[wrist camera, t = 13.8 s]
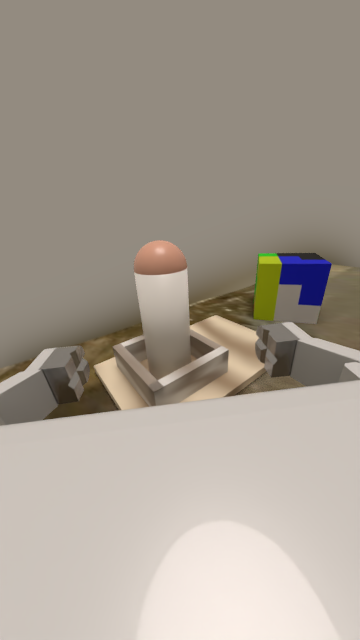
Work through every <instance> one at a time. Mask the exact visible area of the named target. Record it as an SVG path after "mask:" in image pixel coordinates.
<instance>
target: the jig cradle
mask: <svg viewBox="0 0 360 640" xmlns="http://www.w3.org/2000/svg"><path fill="white" fill-rule="evenodd" d="M258 339H259V337H258V336H257V335H256V331H253V330H251V329H249V328H246V327H244V326H241V325H239V324H236V323H234V322H231V321H229V320H227V319H224V318H222V317H219V316H217V315H215V316H213V317H210V318H208V319H205V320H203V321H201V322H198V323H196V324H193V325H191V326H190V347H191V363H189V364H187V365H186V366H184V367H182V368H180V369H178V370H176V371H174V372H173V373H171V374H169V375H167V376H165V377H163V378H161V379H160V380H157V379H156V378H155V377H154V376H153V375H152V374H151V373H150V372H149V366H148V359H147V353H146V346H145V340H144V335H141V336H139V337H136V338H134V339H131V340H128V341H126V342H123V343H121V344H118V345H115V346H113V351H114V355H115V357H114V358H112V359H109V360H107V361H104V362H102V363H99V364H97V365H95V366H94V369H95V372H96V374H97V376H98V377H99V379H100V380H101V382H102V384H103V385H104V387H105V388H106V390H107V392H108V393H109V395H110V396H111V398H112V400H113V401H114V403H115V404H116V406H117V408H118V409H119V410H127V409H135V408H143V407H151V406H159V405H167V404H174V403H182V402H190V401H198V400H206V399H214V398H222V397H229V396H234V395H236V394H237V393H238V392H240V391H241V390H242V389H244V388H245V387H246V386H248V385H249V384H250V383H252V382H253V381H254V380H256V379H257V378H258V377H260V376H261V375H262V374H264V373H265V372H266V369H265V368H264V365H265V364H264V363H262V362H260V361H259V359H258V358H257V356H256V352H255V342H256V341H257V340H258Z"/></svg>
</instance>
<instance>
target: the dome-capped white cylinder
mask: <svg viewBox="0 0 360 640" xmlns="http://www.w3.org/2000/svg"><path fill="white" fill-rule="evenodd" d="M134 274H135V280H136V287H137V293H138V300H139V306H140V313H141V320H142V326H143V333H144V340H145V346H146V353H147V359H148V366H149V372H150V373H151V374H152V375H153V376H154V377H155V378H156V379H157V380H160V379H161V378H163V377H165V376H167V375H169V374H171V373H173V372H174V371H176V370H178V369H180V368H182V367H184V366H186V365H187V364H189V363H191V347H190V324H189V300H188V278H187V263H186V259H185V257H184V255H183V253H182V252H181V250H180V249H179V248H178V247H177V246H175V245H174V244H172V243H170V242H167V241H162V240H158V241H153V242H150V243H148V244H146V245H144V246H143V247H142V248H141V249H140V250H139V252H138V253H137V255H136V258H135V261H134Z"/></svg>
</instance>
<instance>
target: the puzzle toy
mask: <svg viewBox="0 0 360 640" xmlns="http://www.w3.org/2000/svg"><path fill="white" fill-rule="evenodd" d="M330 268H331V263H330V262H328V261H326V260H325V259H323V258H322V257H320V256H319V255H317V254H316V253H277V254H258V264H257V274H256V284H255V293H254V319H259V320H272V321H285V322H298V323H311V324H317V320H318V316H319V312H320V308H321V304H322V300H323V296H324V292H325V288H326V284H327V280H328V276H329V272H330Z"/></svg>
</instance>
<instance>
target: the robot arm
mask: <svg viewBox="0 0 360 640" xmlns="http://www.w3.org/2000/svg"><path fill="white" fill-rule="evenodd" d="M256 335H257V336H258V337H259V339H258V340H257V341H256V342H255V352H256V356H257V358H258V359H259V361H260V362H262V363H264V364H265V365H264V368H265V369H266V371H267V372H268V374H269V375H270V376H271V377H281V376H290V377H292V378H294V379H295V380H297V381H299V382H300V383H302V384H303V385H305V386H307V387H300V388H292V389H284V390H276V391H269V392H261V393H253V394H245V395H237V396H229V397H222V398H214V399H206V400H198V401H190V402H182V403H174V404H167V405H159V406H151V407H143V408H135V409H127V410H119V411H112V412H104V413H96V414H88V415H80V416H72V417H64V418H57V419H49V420H43V419H44V418H45V417H46V416H47V415H48V414H49V413H50V412H51V411H53V410H54V409H55V408H56V407H57V406H58V404H64V403H71V402H77V401H79V399H80V397H81V395H82V393H83V390H84V389H83V385H84V384H85V383H87V381H88V379H89V372H90V370H89V365H88V362H87V361H86V360H85V359H83V357H84V354H85V353H84V350H83V348H82V347H81V346H71V347H61V348H51V349H45V350H43V351H42V352H41V353H40V354H39V356H38V357H37V358H36V359H35V360H34V361H33V362H32V363H31V365H30V366H29V367H28V368H27V369H26V370H25V371H24V372H20V373H18V374H16V375H14V376H12V377H10V378H9V379H7V380H5V381H3V382H1V383H0V640H360V351H358V350H354V349H351V348H348V347H344V346H341V345H338V344H334V343H331V342H328V341H325V340H321V339H318V338H312V337H310V336H309V335H308V334H307V333H305V332H304V331H303V330H301V329H300V328H299V327H297V326H296V325H295V324H294V323H292V322H285V323H277V324H270V325H263V326H258V328H257V331H256Z"/></svg>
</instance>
